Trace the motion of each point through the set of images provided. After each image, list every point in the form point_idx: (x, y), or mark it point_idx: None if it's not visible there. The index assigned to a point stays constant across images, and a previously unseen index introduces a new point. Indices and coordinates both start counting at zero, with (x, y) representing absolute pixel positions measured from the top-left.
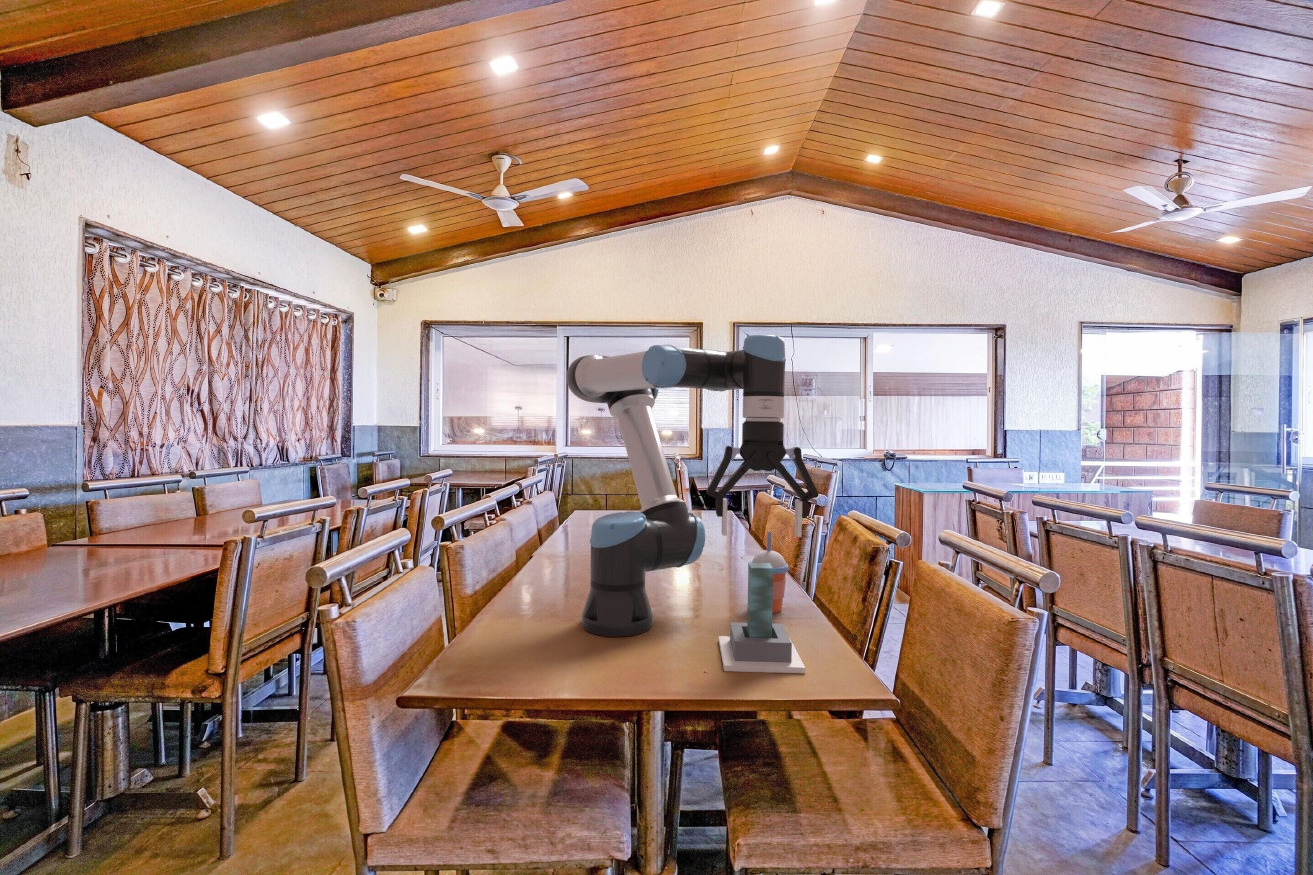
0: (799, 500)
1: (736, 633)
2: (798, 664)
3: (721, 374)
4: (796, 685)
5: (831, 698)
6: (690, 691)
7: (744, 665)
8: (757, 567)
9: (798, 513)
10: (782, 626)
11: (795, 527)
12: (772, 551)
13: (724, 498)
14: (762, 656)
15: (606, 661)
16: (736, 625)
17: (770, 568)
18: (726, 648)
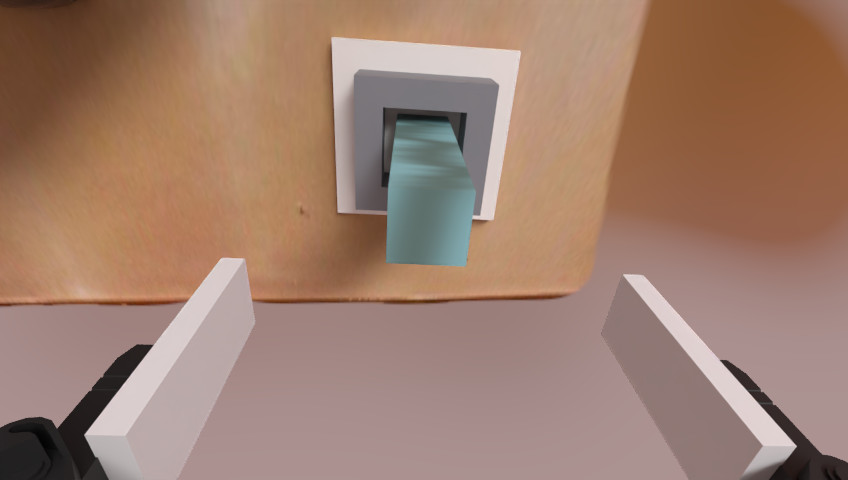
0: (764, 477)
1: (363, 161)
2: (485, 206)
3: None
4: None
5: (499, 295)
6: (280, 278)
7: (377, 212)
8: (410, 257)
9: (666, 435)
10: (494, 108)
11: (634, 319)
12: None
13: (111, 441)
14: None
15: (89, 166)
16: (369, 101)
17: (455, 265)
18: (347, 125)
